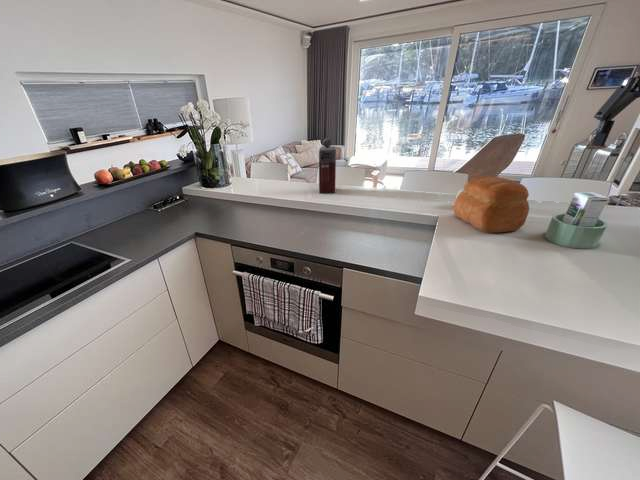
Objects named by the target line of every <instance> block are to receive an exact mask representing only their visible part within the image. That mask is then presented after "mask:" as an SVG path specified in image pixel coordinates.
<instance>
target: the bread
mask: <svg viewBox="0 0 640 480" xmlns="http://www.w3.org/2000/svg"><path fill="white" fill-rule="evenodd" d="M463 188H464V189H463ZM463 188H462V189H463V191H462V192H461V193H460V194H459V196H458V197H457V199H456V201H455V200H454V204H453V214H454V215H455V216H456V217H457V218H459V219H460V220H463V221H464V222H465V223H468V224H470V225H471V226H472V227H473V228H476V229H478V230H479V231H482V232H485V233H491V234H492V233H493V234H496V233H509V232H513V231H518V230H520V229H521V228H523V226H524V225H525V223H526V221H527V218H528V215H529V212H530V206H529V201H528V198H529V196H530V194H529V190H528V188H527V187H526V186H525V185H524V184H522V183H518V182H516V181H514V180H511V179H508V178H505V177H499V176H496V175H482V176H481V175H479V176H476V177H474V178H472V179H470V180H469V181H467V182H466V184H465V185H463Z"/></svg>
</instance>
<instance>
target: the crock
mask: <svg viewBox="0 0 640 480" xmlns="http://www.w3.org/2000/svg"><path fill="white" fill-rule="evenodd" d="M565 214H566V212H563V213H562V212H561V213H555V214H554V215H552V217H551V219H550V221H549V224H548V226H547V229H546V231H545V233H544V238H545V239H546V240H547V241H549V242H550V243H553V244H556V245H559V246H563V247H566V248H572V249H584V250H585V249H594V248H596V247H597V245H598V244H599V242H600V241H601V239H602V237H603V235H604V234H605V231H606V229H607V228H608V226H609V224H608V222H607V221H606V220H604V219H602V218H600V217H599V218H598V220H597V222H596V224H595V226H594V227H583V226H576V225H571V224H567V223H564V222H562V220H563V218H564V216H565Z"/></svg>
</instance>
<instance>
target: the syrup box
mask: <svg viewBox="0 0 640 480" xmlns="http://www.w3.org/2000/svg"><path fill="white" fill-rule="evenodd" d="M609 199H610V197H608V196H605V195H602V194H599V193H597V192H591V191H582V192H581V191H580V192H575V193H574V194H573V197H572V199H571V200H570V203H569V205H568V207H567V209H566V212H565V213H566V214H565V216H564V218H563V220H562V222H564V223H567V224H571V225H576V226H583V227H594V226H595V224H596V222H597V220H598V218H599V219H600V216H601V214H602V213H603V211H604V209H605V207H606V205H607V203H608V201H609Z"/></svg>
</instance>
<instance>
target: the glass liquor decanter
mask: <svg viewBox="0 0 640 480" xmlns="http://www.w3.org/2000/svg"><path fill="white" fill-rule="evenodd" d="M322 143H323V144H322V145H323V146H320V147H319V148H318V194H319V195H321V194H322V195H323V194H336V176H337V175H336V174H337V173H336V171H337V169H336V168H337V165H336V164H337V148H336V146H335V145H334V146H333V145H332V140H331V138H324V140H323V141H322Z"/></svg>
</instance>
